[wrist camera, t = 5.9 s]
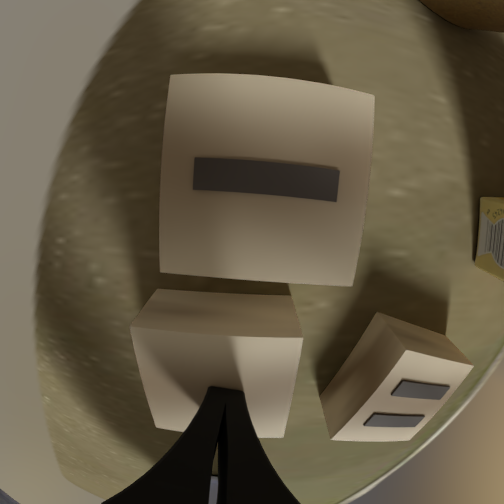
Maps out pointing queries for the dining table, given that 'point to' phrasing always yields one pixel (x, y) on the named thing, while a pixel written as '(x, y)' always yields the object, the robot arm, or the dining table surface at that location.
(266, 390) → the plain block
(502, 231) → the candy box
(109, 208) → the dining table surface
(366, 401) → the numbered block eleven
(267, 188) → the numbered block one
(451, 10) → the plant pot
